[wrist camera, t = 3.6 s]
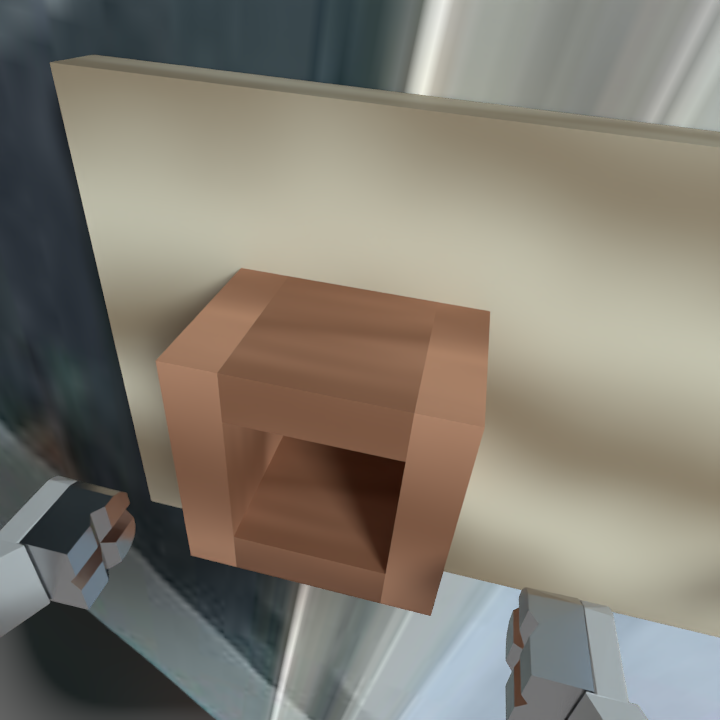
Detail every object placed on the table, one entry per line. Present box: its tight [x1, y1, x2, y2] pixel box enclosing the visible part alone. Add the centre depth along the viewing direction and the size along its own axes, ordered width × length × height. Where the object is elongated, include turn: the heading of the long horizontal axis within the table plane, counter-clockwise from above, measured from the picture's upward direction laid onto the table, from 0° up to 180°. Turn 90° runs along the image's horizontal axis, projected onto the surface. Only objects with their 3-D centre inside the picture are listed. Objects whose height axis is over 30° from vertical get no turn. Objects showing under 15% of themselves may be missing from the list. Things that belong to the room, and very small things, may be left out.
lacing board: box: [50, 55, 720, 637], centre depth 11 cm, size 14×30×10 cm, turn 85°
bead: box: [156, 268, 490, 616], centre depth 13 cm, size 6×6×4 cm
